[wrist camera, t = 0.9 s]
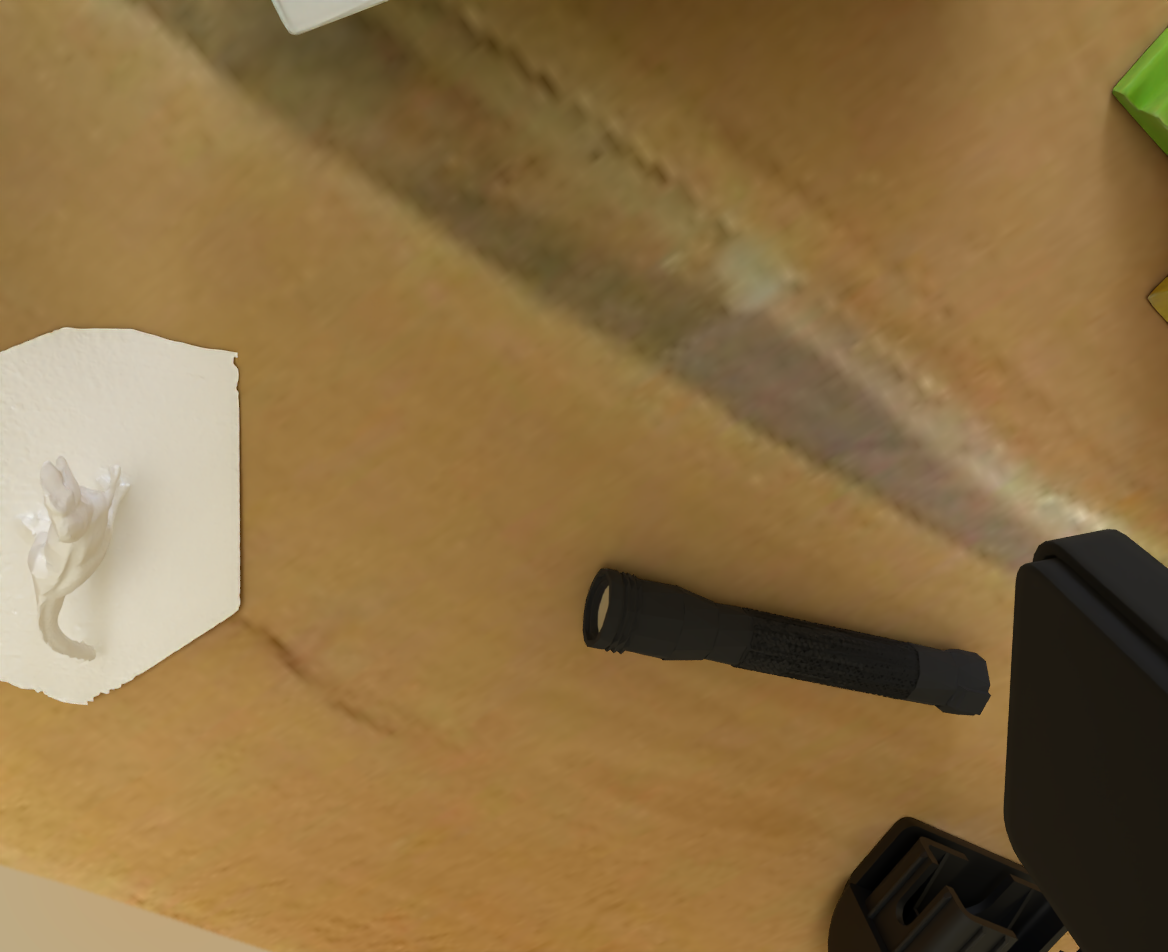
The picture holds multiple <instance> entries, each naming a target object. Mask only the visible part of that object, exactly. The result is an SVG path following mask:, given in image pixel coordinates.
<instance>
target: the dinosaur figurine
mask: <svg viewBox="0 0 1168 952" xmlns="http://www.w3.org/2000/svg"><path fill="white" fill-rule="evenodd" d="M237 354H238V353H237V352H231V351H225V350H217V349H207V348H202V347H197V346H193V345H189V344H186V343H183V342H175V341H171V340H167V339H164V338H162V337H159V336H156V335H152V334H148V333H144V332H141V331H137V330H134V329H98V328H91V329H76V328H69V327H66V328H61V329H59V330H54V331H53V332H52V333H49V332H48V333H47V334H45V335H42V336H39V337H36V338H35V339H33V340H29V341H26V342H24V343H23V344H19V346H18V345H16V346H13V347H11V348H9V349H8V350H5V351H2V352H0V681H3V682H8V683H10V684H12V685H14V686H16V687H19V688H21V689H28V690H29V689H34V690H35V691H36V692H38V693H39V692H41V691H43V692H44V694H46V695H48V697H52V698H53V699H56V700H58V701H62V702H64V703H65V702H67V703H73V704H82V705H88V703H87V701H93V697H95V696H98V695H99V694H100V692H102V693H105V694H108V693H109V690H110V689H113V690H114V688H116V689H118V688H120V687H121V684H125V683H127V682H129V681H131V680H133V679H134V677H135V676H137V675H140V674H141V673H143V672H145V671H147V670H148V669H149V668H151V667H153V666H154V665H156V664H157V663H159V662H160V661H162V660H163V659H165V657H167V656H170V654H172V653H174V652H175V651H178V650H179V649H181V648H182V647H183V646H185V645H186V644H188V643H189V642H191V641H193V640H194V639H195V638H197V637H199V636H201V635H202V634H204V633H205V632H207V631H208V630H210V629H211V628H213V627H214V626H215V625H217V624H218V623H221V622H222V621H224V620H225V619H226V618H228V617H229V616H231V615H233V614H234V613H235V612H236V611H237V610H239V607H238V606H240V597H239V594H240V579H239V578H240V576H239V575H240V547H239V546H240V534H239V533H240V526H239V525H240V513H239V512H240V510H239V509H240V508H239V507H240V503H239V500H240V491H239V490H240V488H239V487H240V483H239V480H240V478H239V477H240V476H239V475H240V473H239V469H240V467H239V462H240V461H239V460H240V458H239V457H240V456H239V454H240V453H239V452H240V450H239V443H240V442H239V431H240V430H239V399H238V395H239V392H238V391H237V390H236V386H237V382H238V380H239V374H238V368H237V367H236V366H235V365H234V364H233V361H234V357H237V358H238V356H237Z"/></svg>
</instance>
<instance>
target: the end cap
mask: <svg viewBox="0 0 1168 952" xmlns="http://www.w3.org/2000/svg"><path fill="white" fill-rule="evenodd" d="M1067 931H1068V930H1067V929H1066V927H1065V926H1064V924H1063V923H1062V921H1061V920H1060V918H1059V917H1058V915H1057V914H1056V913H1055V911H1054V910H1053V908H1052V907H1051V905H1050V904H1049V902H1048V901H1047V899H1046V898H1045V897H1044V895H1043V894H1042V892H1041V891H1040V889H1039V888H1038V886H1037V885H1036V883H1035V882H1034V880H1033V879H1032V878H1031V876H1030V875H1029V873H1028V872H1027V870H1026V869H1025V867H1023V866H1021V865H1019V864H1016V863H1014V862H1012V861H1009V860H1007V859H1005V858H1002V857H1000V856H998V855H996V854H993V853H991V852H989V851H986V850H984V849H982V848H980V847H977V846H975V845H973V844H970V843H968V842H966V841H964V840H961V839H959V838H957V837H954V836H952V835H950V834H947V833H945V832H943V831H941V830H938V829H936V828H934V827H931V826H929V825H927V824H925V823H922V822H920V821H918V820H915V819H913V818H904V819H901V820H900V821H898V822H897V823H896V824H895V825H894V826H893V827H892V828H891V830H890V831H889V832H888V833H887V834H886V835H885V836H884V838H883V839H882V840H881V841H880V842H879V843H878V845H877V846H876V847H875V848H874V849H873V850H872V851H871V853H870V854H869V855H868V856H867V857H866V858H865V860H864V861H863V862H862V863H861V864H860V865H859V867H858V868H857V869H856V870H855V871H854V872H853V874H852V876H851V878H850V879H849V881H848V883H847V884H846V886H845V889H844V892H843V894H842V896H841V897H840V899H839V901H838V903H837V905H836V908H835V911H834V913H833V916H832V920H831V924H830V929H829V937H828V952H1048V951H1049V950H1050V949H1051V948H1052V947H1053V945H1054V944H1055V943H1056V942H1057V941H1058V940H1059V939H1060V938H1061V937H1062V936H1063V935H1064V934H1065V933H1066V932H1067ZM1059 952H1063V951H1061V950H1060V951H1059ZM1077 952H1082V950H1081V949H1079V950H1078V951H1077Z"/></svg>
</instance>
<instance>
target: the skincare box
mask: <svg viewBox="0 0 1168 952" xmlns="http://www.w3.org/2000/svg"><path fill="white" fill-rule="evenodd" d="M271 1H272V3H273V5H274V7H275V9H276V11H277V13H278V15H279V17H280V19H281V21H282V23H283V24H284V26H285V27H286V29H287V30H288V32H289V33H290V34H293V35H299V34H302V33H304V32H307V31H310V30H313V29H315V28H318V27H320V26H323V25H326V24H328V23H331V22H334V21H336V20H339V19H342V18H344V17H347V16H350V15H352V14H355V13H357V12H360V11H363V10H365V9H368V8H371V7H373V6H376V5H379V4H381V3H384V2H386V1H389V0H271Z"/></svg>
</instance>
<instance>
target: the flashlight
mask: <svg viewBox="0 0 1168 952" xmlns="http://www.w3.org/2000/svg"><path fill="white" fill-rule="evenodd" d="M583 636H584V641H585V643H586V645H587V647H592V648H597V649H605V650H606V652H607V651H609V650H611V651H612V652H613V653H615V652H616V651H618V652H619V653H620V654H622V653H623V652H624V651H625V650H626V651H630V652H635V653H639V654H643V655H647V656H652V657H656V658H660V659H662V660H703V659H707V660H712V661H716V662H721V663H725V664H729V665H730V664H731V666H733V667H736V668H737V667H738V668H742V669H747V670H751V671H752V670H753V671H757V672H762V673H767V674H772V675H773V674H774V675H777V676H782V677H788V678H792V679H793V678H795V679H797V680H802V681H803V680H804V681H810V682H813V683H814V682H815V683H818V684H821V685H822V684H823V685H825V684H826V685H827V686H830V685H832V687H836V686H837V687H839V688H840V687H841V688H843V689H846V688H847V689H848V690H849V689H850V690H852V691H854V690H855V691H858V692H863V693H865V692H866V693H872V694H874V695H875V694H877V695H879V696H880V695H882V696H883V697H886V696H887V697H888V698H889V697H890V698H893V699H901V700H906V701H912V702H917V703H923V704H928V705H935V706H936V707H937V708H939V709H940V710H941V711H942V712H945V713H951V714H958V715H975V714H977V715H980V714H981V712H982V710H983V709H984V707H985V705H986V703H987V702H988V700H989V698H990V696H991V695H990V694H989V693H988V690H989V687H990V681H989V676H988V670H987V665H986V661H985V660H984V659H983V658H981V657H980V656H979V655H978V654H977V653H973V652H969V651H964V650H959V649H949V650H944V651H943V650H939V649H935V648H931V647H926V646H922V645H918V644H913V643H909V642H907V643H906V642H902V641H900V642H899V641H897V640H892V639H888V638H883V637H880V636H879V637H878V636H876V637H875V636H874V635H869V634H865V633H860V632H855V631H853V632H852V631H851V630H846V629H841V628H836V627H832V626H831V627H829V626H828V625H827V626H826V625H823V624H818V623H812V622H808V621H807V622H806V621H805V620H804V621H803V620H802V621H801V620H800V619H794V618H789V617H787V616H786V617H784V616H782V615H776V614H771V613H769V612H768V613H767V612H762V611H758V610H753V609H748V608H741V607H736V606H730V605H724V604H718V603H714V602H713V601H711V600H708V599H706V598H704V597H702V596H699V595H697V594H695V593H692V592H690V591H688V590H686V589H683V588H681V587H679V586H677V585H676V586H674V585H669V584H663V583H658V582H652V581H647V580H641V579H638V578H637V577H636V576H635V575H634V574H633V575H632V576H631V575H630V574H629V573H626V574H625V573H624V572H622V573H619V572H618V571H617V570H612V569H601V570H600V571H599V572H598V573H597V575H596V576H595V578H594V580H593V582H592V584H591V587H590V590H589V593H588V596H587V599H586V603H585V609H584V617H583Z"/></svg>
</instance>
